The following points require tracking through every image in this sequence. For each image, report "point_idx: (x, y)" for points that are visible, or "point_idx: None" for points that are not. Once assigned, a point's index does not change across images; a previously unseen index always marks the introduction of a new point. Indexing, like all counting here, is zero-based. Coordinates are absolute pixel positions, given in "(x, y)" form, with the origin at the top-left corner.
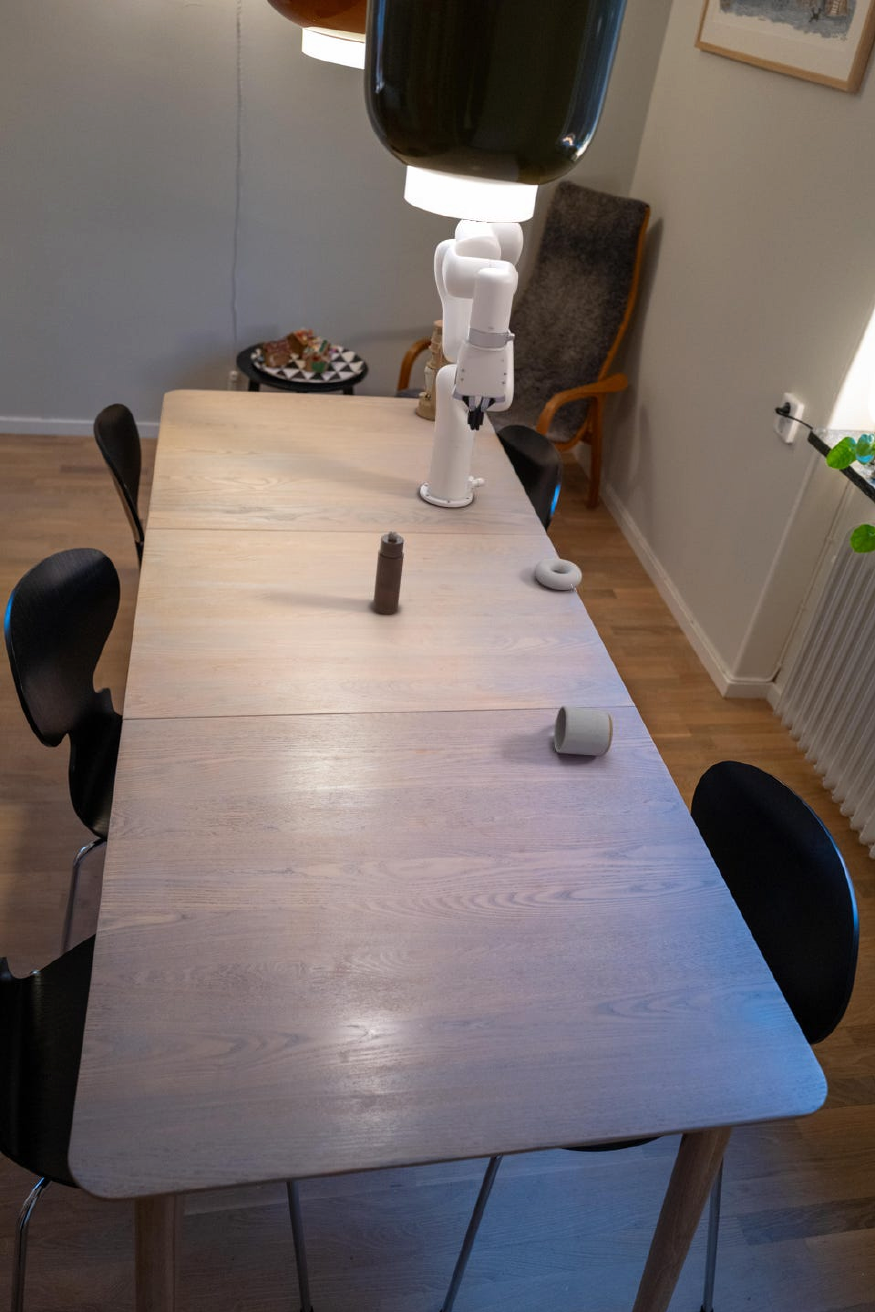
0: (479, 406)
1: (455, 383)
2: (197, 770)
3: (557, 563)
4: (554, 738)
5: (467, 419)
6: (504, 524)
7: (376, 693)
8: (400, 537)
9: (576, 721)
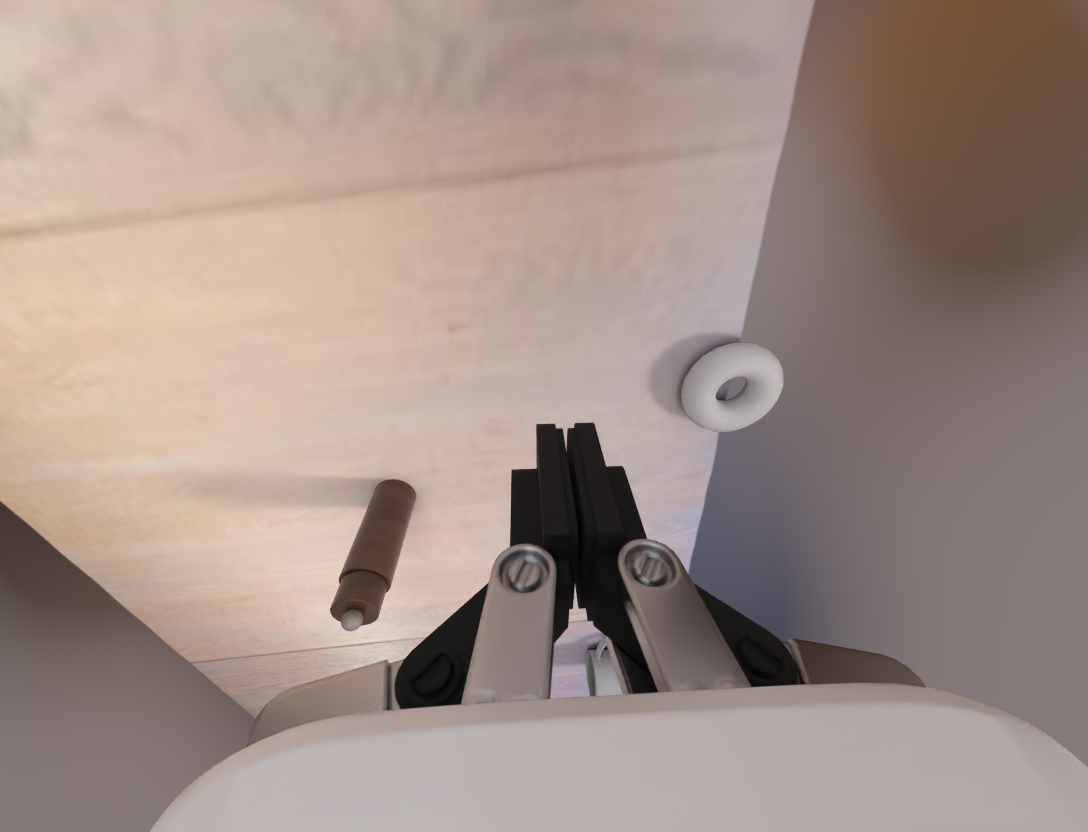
0: (602, 616)
1: (173, 811)
2: (282, 690)
3: (742, 376)
4: (588, 651)
5: (511, 479)
6: (708, 68)
7: (413, 620)
8: (369, 607)
9: None
